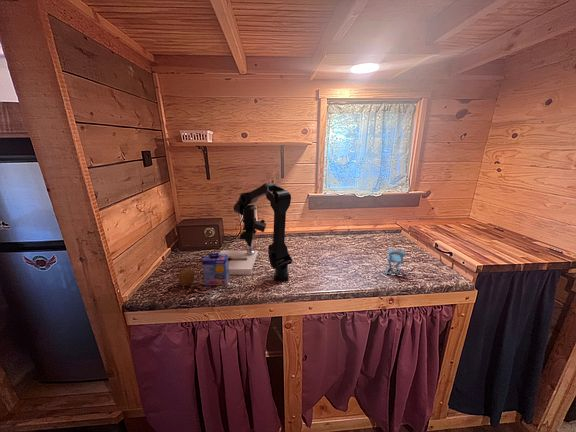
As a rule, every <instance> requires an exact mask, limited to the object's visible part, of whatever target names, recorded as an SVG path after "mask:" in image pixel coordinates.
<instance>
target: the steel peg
mask: <svg viewBox="0 0 576 432" xmlns="http://www.w3.org/2000/svg"><path fill="white" fill-rule="evenodd" d="M253 247H254V246H253V243H252V244H251V247H249V246H248V249H247V250H246V251H247V254H249V255H251V254H254V253H255V251H256V250H255V249H253Z"/></svg>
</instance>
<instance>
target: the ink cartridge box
mask: <svg viewBox="0 0 576 432" xmlns="http://www.w3.org/2000/svg"><path fill="white" fill-rule="evenodd" d="M228 262H229V258H228V255H227V254H220V255H219V253H209V254H205V255H204V257H202V259H201V265H202V271H203V272H202V273H203V281H204V286H219V285H220V286H226V285H228V284H229V282H230V274H229V266H228Z"/></svg>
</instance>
